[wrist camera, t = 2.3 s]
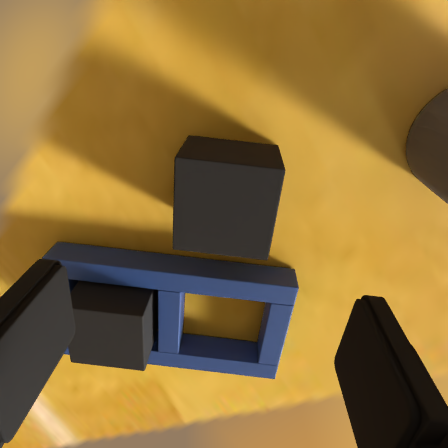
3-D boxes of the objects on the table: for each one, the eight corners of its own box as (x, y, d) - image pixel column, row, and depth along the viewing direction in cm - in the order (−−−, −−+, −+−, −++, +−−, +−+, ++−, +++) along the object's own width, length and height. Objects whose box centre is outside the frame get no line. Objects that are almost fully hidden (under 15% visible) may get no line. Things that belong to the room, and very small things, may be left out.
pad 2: (188, 134, 18) (174, 156, 15) (278, 145, 18) (285, 169, 15) (185, 214, 21) (172, 249, 17) (264, 223, 21) (267, 260, 17)
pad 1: (88, 266, 23) (59, 306, 20) (158, 275, 23) (143, 316, 20) (94, 318, 26) (70, 362, 22) (158, 326, 26) (144, 371, 22)
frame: (57, 240, 22) (41, 257, 20) (295, 268, 22) (299, 287, 20) (73, 333, 26) (61, 354, 25) (273, 357, 26) (274, 379, 25)
